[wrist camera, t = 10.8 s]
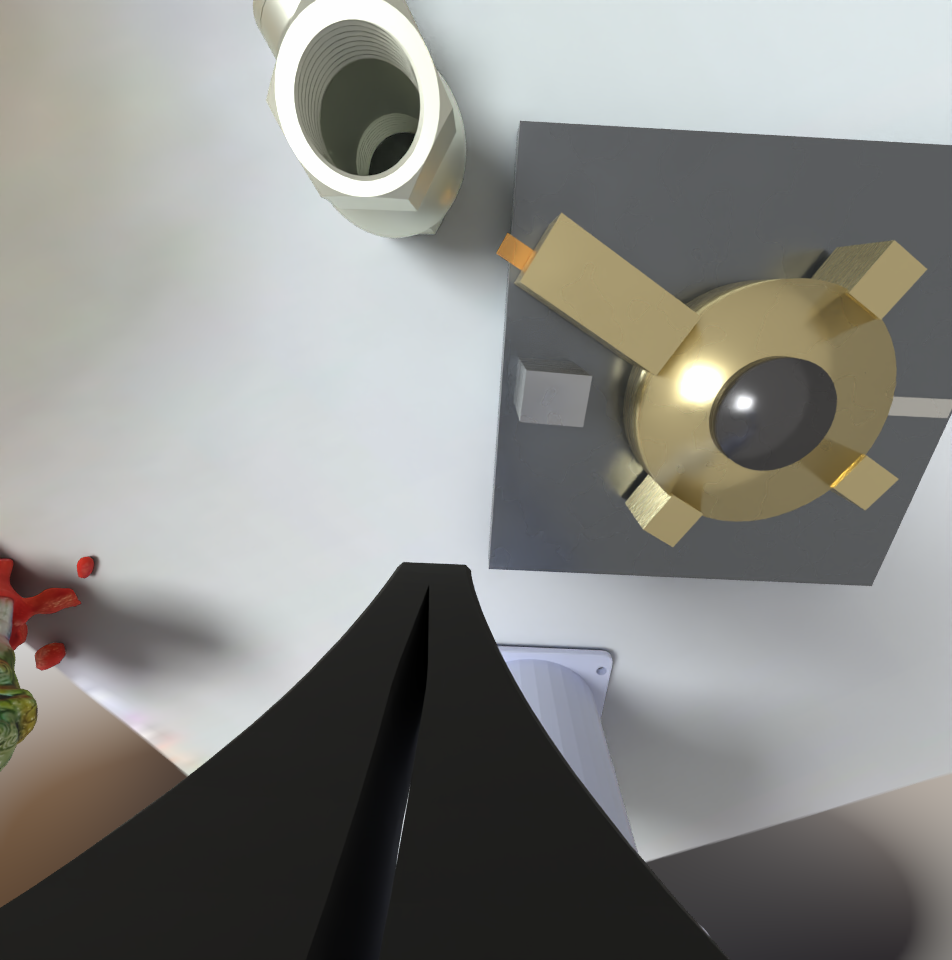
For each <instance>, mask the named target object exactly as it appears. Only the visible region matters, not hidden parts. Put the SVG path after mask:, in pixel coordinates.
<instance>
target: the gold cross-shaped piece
mask: <svg viewBox="0 0 952 960" xmlns="http://www.w3.org/2000/svg"><path fill="white" fill-rule="evenodd" d="M926 270H927V268H925V267H924V266H923V265H922V264H921V263H920V262H919V261H918V260H916V259H915V258H914V257H913V256H912V255H911V254H910V253H909V252H907V251H906V250H905V249H904V248H903V247H902V246H901V245H900V244H899V243H897V242H896V241H895V240H891V241H883V242H876V243H868V244H860V245H852V246H844V247H837V248H836V249H835V250H834V251H833V253H832V254H831V255H830V256H829V257H828V259H827V260H826V261H825V262H824V263H823V265H822V266H821V267H820V268H819V269H818V271H817V272H816V273H815V274H814V275H813V277H812V278H811V279H808V278H792V279H769V280H748V281H742V282H736V283H731V284H728V285H725V286H721V287H718V288H715V289H713V290H711V291H708V292H706V293H704V294H702V295H700V296H698V297H696V298H695V299H693V300H691V301H690V302H688V303H686V304H684V303H682V302H681V301H679V300H678V299H677V298H675V297H674V296H673V295H671V294H670V293H669V292H667V291H666V290H665V289H663V288H662V287H661V286H659V285H658V284H657V283H655V282H654V281H653V280H651V279H650V278H649V277H647V276H646V275H645V274H643V273H642V272H641V271H639V270H638V269H637V268H635V267H634V266H633V265H631V264H630V263H629V262H627V261H626V260H625V259H623V258H622V257H620V256H619V255H618V254H616V253H615V252H614V251H612V250H611V249H610V248H608V247H607V246H606V245H604V244H603V243H602V242H600V241H599V240H598V239H596V238H595V237H594V236H592V235H591V234H590V233H588V232H587V231H586V230H584V229H583V228H582V227H580V226H579V225H578V224H576V223H575V222H574V221H572V220H571V219H570V218H568V217H567V216H565V215H564V214H563V213H561V214H560V215H559V216H558V217H557V218H556V219H554V220H553V221H552V222H551V223H550V224H549V225H548V227H547V229H546V230H545V232H544V234H543V235H542V237H541V239H540V240H539V242H538V244H537V245H536V247H535V249H534V250H533V252H532V254H531V255H530V257H529V259H528V260H527V262H526V264H525V265H524V267H523V269H522V270H521V272H520V274H519V275H518V277H517V279H516V280H515V282H514V284H515V285H517V286H518V287H520V288H521V289H522V290H524V291H525V292H527V293H528V294H530V295H531V296H533V297H534V298H535V299H537V300H538V301H540V302H541V303H543V304H544V305H546V306H547V307H549V308H550V309H551V310H553V311H554V312H556V313H557V314H559V315H560V316H562V317H563V318H564V319H566V320H567V321H569V322H570V323H572V324H573V325H575V326H576V327H578V328H579V329H580V330H582V331H583V332H585V333H586V334H588V335H589V336H591V337H592V338H593V339H595V340H596V341H598V342H599V343H601V344H602V345H604V346H605V347H607V348H608V349H609V350H611V351H612V352H614V353H615V354H617V355H618V356H620V357H621V358H622V359H624V360H625V361H627V362H628V363H630V364H631V365H634V366H633V368H632V371H631V374H630V377H629V379H628V383H627V387H626V391H625V396H624V407H623V416H624V427H625V432H626V437H627V440H628V443H629V446H630V449H631V450H632V452H633V454H634V456H635V458H636V460H637V461H638V463H639V464H640V465H641V467H642V468H643V469H644V470H645V471H646V472H647V474H648V476H647V477H646V478H645V479H644V480H643V482H642V483H641V484H640V485H639V486H638V488H637V489H636V490H635V491H634V492H633V494H632V495H631V496H630V497H629V498H628V500H627V501H626V502H625V504H626V505H627V507H628V508H629V510H630V511H631V513H632V514H633V516H634V517H635V518H636V520H637V521H638V523H639V524H640V526H641V527H642V529H643V530H645V531H647V532H648V533H650V534H651V535H653V536H655V537H656V538H658V539H660V540H661V541H663V542H665V543H666V544H668V545H670V546H671V547H674V546H675V545H676V544H677V542H678V541H679V540H680V539H681V538H682V537H683V536H684V535H685V534H686V533H687V531H688V530H689V529H690V528H691V527H692V526H693V525H694V524H695V523H696V522H697V521H698V519H699V518H700V517H701V516H704V517H707V518H712V519H717V520H723V521H734V522H738V521H754V520H761V519H767V518H771V517H775V516H779V515H782V514H784V513H787V512H790V511H793V510H795V509H797V508H799V507H802V506H804V505H806V504H808V503H810V502H811V501H813V500H815V499H816V498H818V497H820V496H821V495H823V494H825V493H826V492H827V491H829V490H830V491H832V492H833V493H835V494H837V495H839V496H841V497H842V498H844V499H846V500H848V501H849V502H851V503H853V504H855V505H857V506H858V507H860V508H862V509H864V510H867V509H868V508H869V507H870V506H871V505H872V504H873V503H874V502H875V501H876V500H877V499H878V498H879V497H880V496H881V495H883V494H884V493H885V492H886V491H887V490H888V489H889V488H890V487H891V486H892V485H893V484H894V483H895V482H896V481H897V480H899V479H898V478H897V477H895V476H894V475H893V474H891V473H890V472H888V471H887V470H886V469H884V468H883V467H882V466H880V465H879V464H878V463H876V462H875V461H874V460H872V459H871V458H869V457H868V456H867V455H866V453H867V452H868V451H869V449H870V448H871V447H872V445H873V444H874V442H875V440H876V439H877V437H878V435H879V434H880V432H881V430H882V428H883V425H884V423H885V421H886V419H887V417H888V414H889V411H890V407H891V404H892V401H893V396H894V391H895V386H896V370H897V367H896V357H895V351H894V347H893V343H892V339H891V336H890V334H889V332H888V330H887V327H886V325H885V323H884V322H883V320H882V318H883V317H884V316H885V315H886V314H887V313H888V312H889V311H890V310H891V308H892V307H893V306H894V305H895V304H896V303H897V302H898V301H899V300H900V299H901V298H902V296H903V295H904V294H905V293H906V292H907V291H908V290H909V289H910V288H911V287H912V286H913V284H914V283H915V282H916V281H917V280H918V279H919V278H920V277H921V276H922V275H923V273H924V272H925V271H926Z"/></svg>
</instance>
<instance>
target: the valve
mask: <svg viewBox="0 0 952 960" xmlns="http://www.w3.org/2000/svg"><path fill="white" fill-rule="evenodd" d="M253 13H254V18H255V21H256V24H257V26H258V28H259V30H260V32H261V33H262V35H263V37H264V39H265V40H266V42H267V44H268V46H269V48H270V49H271V51H272V53H273V55H274V57H275V59H276V60H277V61H276V64H275V67H274V70H273V74H272V78H271V82H270V86H269V90H268V95H267V99H266V101H267V103H268V105H269V107H270V109H271V111H272V113H273V115H274V117H275V119H276V121H277V122H278V124H279V126H280V128H281V130H282V131H283V133H284V135H285V137H286V139H287V140H288V142H289V144H290V146H291V148H292V149H293V151H294V153H295V154H296V156H297V158H298V160H299V161H300V163H301V165H302V166H303V168H304V170H305V171H306V173H307V175H308V176H309V178H310V180H311V181H312V183H313V185H314V186H315V188H316V189H317V191H318V193H319V194H320V196H321V197H323V198H324V199H326V200H327V201H329V202H330V203H331V204H332V205H333V207H334V208H335V209H336V210H337V211H338V212H339V213H340V214H341V215H342V216H343V217H344V218H346V219H347V220H348V221H349V222H351V223H352V224H354V225H355V226H356V227H358V228H360V229H362V230H364V231H366V232H368V233H371V234H374V235H377V236H381V237H387V238H404V237H410V236H413V235H417V234H429V235H435V234H436V232H437V230H438V228H439V226H440V224H441V223H442V221H443V219H444V217H445V215H446V213H447V211H448V210H449V209H450V207H451V206H452V204H453V202H454V200H455V199H456V197H457V194H458V192H459V189H460V187H461V184H462V182H463V176H464V171H465V165H466V137H465V130H464V125H463V121H462V116H461V113H460V111H459V108H458V105H457V103H456V100H455V98H454V96H453V94H452V92H451V90H450V88H449V86H448V85H447V83H446V82H445V80H444V79H443V77H442V76H441V75H440V73H439V72H438V71H437V69H436V67H435V65H434V63H433V60H432V58H431V56H430V54H429V51H428V49H427V47H426V45H425V42H424V40H423V38H422V36H421V34H420V32H419V29H418V27H417V25H416V23H415V21H414V19H413V16H412V14H411V12H410V10H409V8H408V6H407V4H406V2H405V0H253ZM397 133H412V134H415V137H414V140H413V142H412V144H411V146H410V148H409V149H408V151H407V153H406V154H405V155H404V156H403V157H402V158H401V160H400V161H399V162H398V163H397V164H396V165H394V166H393V167H392V168H390V169H388V170H387V171H384V172H382V173H379V174H376V175H369V167H370V162H371V158H372V156H373V154H374V151H375V150H376V148H377V147H378V145H379V144H380V143H381V142H382V141H383V140H384V139H386V138H387V137H389V136H391V135H393V134H397Z"/></svg>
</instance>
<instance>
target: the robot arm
mask: <svg viewBox="0 0 952 960" xmlns="http://www.w3.org/2000/svg"><path fill="white" fill-rule="evenodd" d="M612 665H613V660H612V657H611V655H610V653H609V652H607V651H603V650H580V649H556V648H533V647H509V646H497V644H496V642H495V640H494V637H493V635H492V633H491V631H490V629H489V626H488V624H487V622H486V619H485V617H484V615H483V612H482V609H481V607H480V604H479V601H478V598H477V595H476V592H475V589H474V585H473V581H472V576H471V570H470V569H469V568H468V567H467V566H466V565H458V564H434V563H410V562H403V563H402V564H401V565H399V566H398V567H397V569H396V570H395V572H394V573H393V575H392V576H391V577H390V579H389V580H388V581H387V583H386V584H385V586H384V587H383V588H382V589H381V591H380V592H379V593H378V595H377V596H376V597H375V598H374V600H373V601H372V602H371V603H370V605H369V606H368V607H367V608H366V610H365V611H364V612H363V613H362V614H361V615H360V617H359V618H358V619H357V620H356V621H355V622H354V624H353V625H352V626H351V627H350V628H349V629H348V631H347V632H346V633H345V634H344V635H343V636H342V637H341V639H340V640H339V641H338V642H337V643H336V644H335V645H334V646H333V647H332V648H331V649H330V650H329V651H328V652H327V653H326V654H325V655H324V656H323V657H322V658H321V660H320V661H319V662H318V663H317V664H316V665H315V666H314V667H313V668H312V669H311V670H310V671H309V672H308V673H307V674H306V675H305V676H304V677H303V678H302V679H301V680H300V681H299V682H298V683H297V684H296V685H295V686H294V687H293V688H292V689H290V690H289V691H288V692H287V693H286V694H285V695H284V696H283V697H282V698H281V699H280V700H279V701H278V702H276V703H275V704H274V705H273V706H272V707H271V708H270V709H269V710H267V711H266V712H265V713H264V714H263V715H262V716H261V717H260V718H259V719H257V720H256V721H255V722H254V723H253V724H252V725H251V726H249V727H248V728H247V729H246V730H244V731H243V732H242V733H241V734H240V735H238V736H237V737H236V738H235V739H234V740H232V741H231V742H230V743H229V744H228V745H226V746H225V747H224V748H223V749H221V750H220V751H219V752H218V753H217V754H215V755H214V756H213V757H212V758H211V759H209V760H208V761H207V762H206V763H204V764H203V765H202V766H201V767H199V768H198V769H197V770H195V771H194V772H193V773H192V774H190V775H189V776H188V777H187V778H185V779H184V780H183V781H181V782H180V783H179V784H177V785H176V786H175V787H174V788H172V789H171V790H170V791H168V792H167V793H165V794H164V795H163V796H161V797H160V798H159V799H157V800H156V801H154V802H153V803H152V804H150V805H149V806H148V807H146V808H145V809H143V810H142V811H141V812H139V813H138V814H136V815H135V816H134V817H132V818H131V819H129V820H128V821H127V822H125V823H124V824H122V825H121V826H120V827H118V828H117V829H116V830H114V831H113V832H111V833H110V834H109V835H107V836H106V837H104V838H103V839H102V840H100V841H99V842H98V843H96V844H95V845H93V846H92V847H91V848H89V849H88V850H86V851H85V852H84V853H82V854H81V855H79V856H78V857H76V858H75V859H74V860H72V861H70V862H69V863H68V864H66V865H65V866H63V867H62V868H61V869H59V870H57V871H56V872H54V873H53V874H51V875H50V876H48V877H47V878H46V879H44V880H43V881H41V882H40V883H38V884H37V885H35V886H34V887H32V888H31V889H29V890H28V891H26V892H24V893H23V894H21V895H20V896H18V897H17V898H15V899H13V900H12V901H10V902H9V903H7V904H6V905H4V906H3V907H1V908H0V960H730V959H729V958H728V957H727V955H726V954H725V953H724V952H723V951H722V950H721V949H720V948H719V947H718V945H717V944H716V943H715V942H714V941H713V940H712V939H711V938H710V936H709V934H708V933H707V932H706V931H705V929H704V928H703V927H701V926H700V925H699V924H698V923H697V922H696V921H695V920H694V919H693V917H692V916H691V915H690V914H689V913H688V912H687V911H686V910H685V908H684V907H683V906H682V905H681V904H680V903H679V902H678V901H677V900H676V898H675V897H674V896H673V895H672V894H671V892H670V891H669V890H668V889H667V888H666V886H665V885H664V884H663V883H662V882H661V880H660V879H659V878H658V877H657V876H656V875H655V873H654V872H653V871H652V870H651V869H650V868H649V866H648V865H647V864H646V863H645V861H644V860H643V859H642V858H641V857H640V856H639V854H638V851H637V848H636V844H635V841H634V837H633V834H632V830H631V827H630V823H629V820H628V816H627V813H626V809H625V806H624V802H623V798H622V795H621V791H620V788H619V784H618V781H617V777H616V774H615V770H614V767H613V763H612V760H611V756H610V753H609V749H608V746H607V742H606V738H605V735H604V731H603V728H602V724H601V721H600V720H601V716H602V711H603V706H604V702H605V697H606V693H607V688H608V683H609V679H610V674H611V669H612ZM599 667H603V668H602V669H598V668H599ZM410 784H411V785H410ZM409 789H410V791H409ZM408 794H409V797H408ZM407 799H408V803H407ZM406 804H407V808H406ZM405 809H406V814H405ZM404 814H405V820H404V825H403V831H402V836H401V830H402V824H403V819H404ZM400 836H401V842H400ZM399 842H400V848H399ZM398 848H399V853H398ZM397 854H398V859H397ZM396 862H397V864H396Z"/></svg>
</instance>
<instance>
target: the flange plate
mask: <svg viewBox="0 0 952 960" xmlns="http://www.w3.org/2000/svg"><path fill="white" fill-rule="evenodd" d="M561 213H563V214H564V215H565V216H567V217H568V218H570V219H571V220H572V221H574V222H575V223H576V224H578V225H579V226H580V227H582V228H583V229H584V230H586V231H587V232H588V233H590V234H591V235H592V236H594V237H595V238H596V239H598V240H599V241H600V242H602V243H603V244H604V245H606V246H607V247H608V248H610V249H611V250H612V251H614V252H615V253H616V254H618V255H619V256H620V257H622V258H623V259H625V260H626V261H627V262H629V263H630V264H631V265H633V266H634V267H635V268H637V269H638V270H639V271H641V272H642V273H643V274H645V275H646V276H647V277H649V278H650V279H651V280H653V281H654V282H655V283H657V284H658V285H659V286H661V287H662V288H663V289H665V290H666V291H667V292H669V293H670V294H671V295H673V296H674V297H675V298H677V299H678V300H679V301H681V302H682V303H684V304H686V303H688V302H690V301H691V300H693V299H695V298H696V297H698V296H700V295H702V294H704V293H706V292H708V291H711V290H713V289H715V288H718V287H721V286H725V285H728V284H731V283H736V282H742V281H748V280H769V279H792V278H808V279H811V278H812V277H813V275H814V274H815V273H816V272H817V271H818V269H819V268H820V267H821V266H822V265H823V263H824V262H825V261H826V260H827V259H828V257H829V256H830V255H831V254H832V253H833V251H834V250H835V249H836V248H837V247H844V246H852V245H860V244H868V243H876V242H883V241H891V240H895V241H896V242H897V243H899V244H900V245H901V246H902V247H903V248H904V249H905V250H906V251H907V252H909V253H910V254H911V255H912V256H913V257H914V258H915V259H916V260H918V261H919V262H920V263H921V264H922V265H923V266H924V267H925V268H927V270H926V271H925V272H924V273H923V275H922V276H921V277H920V278H919V279H918V280H917V281H916V282H915V283H914V284H913V286H912V287H911V288H910V289H909V290H908V291H907V292H906V293H905V294H904V295H903V296H902V298H901V299H900V300H899V301H898V302H897V303H896V304H895V305H894V306H893V307H892V308H891V310H890V311H889V312H888V313H887V314H886V315H885V316H884V317H883V318H882V320H883V322H884V323H885V325H886V327H887V330H888V332H889V334H890V336H891V339H892V343H893V347H894V351H895V357H896V367H897V370H896V386H895V391H894V396H893V401H892V404H891V407H890V411H889V414H888V417H887V419H886V421H885V423H884V425H883V428H882V430H881V432H880V434H879V435H878V437H877V439H876V440H875V442H874V444H873V445H872V447H871V448H870V449H869V451H868V452H867V453H866V455H867V456H868V457H869V458H871V459H872V460H874V461H875V462H876V463H878V464H879V465H880V466H882V467H883V468H884V469H886V470H887V471H888V472H890V473H891V474H893V475H894V476H895V477H897V478H898V479H899V480H897V481H896V482H895V483H894V484H893V485H892V486H891V487H890V488H889V489H888V490H887V491H886V492H885V493H884V494H883V495H881V496H880V497H879V498H878V499H877V500H876V501H875V502H874V503H873V504H872V505H871V506H870V507H869V508H868V509H867V510H864V509H862V508H860V507H858V506H857V505H855V504H853V503H851V502H849V501H848V500H846V499H844V498H842V497H841V496H839V495H837V494H835V493H833V492H832V491H830V490H829V491H827V492H826V493H825V494H823V495H821V496H820V497H818V498H816V499H815V500H813V501H811V502H810V503H808V504H806V505H804V506H802V507H799V508H797V509H795V510H793V511H790V512H787V513H784V514H782V515H779V516H775V517H771V518H767V519H761V520H754V521H738V522H734V521H723V520H717V519H712V518H707V517H704V516H701V517H700V518H699V519H698V521H697V522H696V523H695V524H694V525H693V526H692V527H691V528H690V529H689V530H688V531H687V533H686V534H685V535H684V536H683V537H682V538H681V539H680V540H679V541H678V542H677V544H676V545H675V546H674V547H671V546H670V545H668V544H666V543H665V542H663V541H661V540H660V539H658V538H656V537H655V536H653V535H651V534H650V533H648V532H647V531H645V530H643V529H642V527H641V526H640V524H639V523H638V521H637V520H636V518H635V517H634V516H633V514H632V513H631V511H630V510H629V508H628V507H627V505H626V504H625V502H626V501H627V500H628V498H629V497H630V496H631V495H632V494H633V492H634V491H635V490H636V489H637V488H638V486H639V485H640V484H641V483H642V482H643V480H644V479H645V478H646V477H647V476H648V474H647V472H646V471H645V470H644V469H643V468H642V467H641V465H640V464H639V463H638V461H637V460H636V458H635V456H634V454H633V452H632V450H631V449H630V446H629V443H628V440H627V437H626V432H625V427H624V416H623V407H624V396H625V391H626V387H627V383H628V379H629V377H630V374H631V371H632V368H633V366H634V365H631V364H630V363H628V362H627V361H625V360H624V359H622V358H621V357H620V356H618V355H617V354H615V353H614V352H612V351H611V350H609V349H608V348H607V347H605V346H604V345H602V344H601V343H599V342H598V341H596V340H595V339H593V338H592V337H591V336H589V335H588V334H586V333H585V332H583V331H582V330H580V329H579V328H578V327H576V326H575V325H573V324H572V323H570V322H569V321H567V320H566V319H564V318H563V317H562V316H560V315H559V314H557V313H556V312H554V311H553V310H551V309H550V308H549V307H547V306H546V305H544V304H543V303H541V302H540V301H538V300H537V299H535V298H534V297H533V296H531V295H530V294H528V293H527V292H525V291H524V290H522V289H521V288H520V287H518V286H517V285H515V284H514V282H515V280H516V279H517V277H518V275H519V274H520V272H521V270H522V269H523V267H524V265H525V264H526V262H527V260H528V259H529V257H530V255H531V254H532V252H533V250H534V249H535V247H536V245H537V244H538V242H539V240H540V239H541V237H542V235H543V234H544V232H545V230H546V229H547V227H548V225H549V224H550V223H551V222H552V221H553V220H554V219H556V218H557V217H558V216H559V215H560V214H561ZM496 254H497V255H499V256H500V257H502V258H503V259H505V260H506V261H508V262H509V264H508V278H507V293H506V308H505V322H504V337H503V352H502V366H501V381H500V396H499V410H498V425H497V440H496V454H495V469H494V484H493V498H492V513H491V527H490V542H489V569H503V570H526V571H549V572H571V573H594V574H616V575H639V576H661V577H684V578H706V579H729V580H751V581H774V582H796V583H819V584H841V585H864V586H872V584H873V582H874V580H875V577H876V575H877V573H878V571H879V569H880V567H881V564H882V562H883V560H884V558H885V556H886V554H887V552H888V549H889V547H890V545H891V543H892V541H893V539H894V536H895V534H896V532H897V530H898V528H899V526H900V524H901V521H902V519H903V517H904V515H905V513H906V511H907V508H908V506H909V504H910V502H911V500H912V498H913V496H914V493H915V491H916V489H917V487H918V485H919V483H920V480H921V478H922V476H923V474H924V472H925V470H926V468H927V465H928V463H929V461H930V459H931V457H932V455H933V452H934V450H935V448H936V446H937V444H938V442H939V440H940V437H941V435H942V433H943V431H944V429H945V427H946V424H947V422H948V420H949V418H950V416H951V414H952V145H937V144H919V143H901V142H884V141H866V140H848V139H830V138H813V137H795V136H777V135H760V134H742V133H724V132H707V131H689V130H671V129H653V128H636V127H618V126H600V125H583V124H565V123H547V122H529V121H520V123H519V128H518V132H517V147H516V161H515V176H514V190H513V205H512V220H511V234H509V233H507V234H506V236H505V238H504V240H503V242H502V244H501V245H500V247H499V249H498V251H497V253H496Z"/></svg>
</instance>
